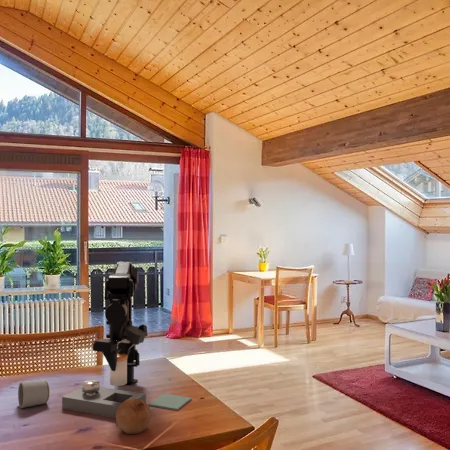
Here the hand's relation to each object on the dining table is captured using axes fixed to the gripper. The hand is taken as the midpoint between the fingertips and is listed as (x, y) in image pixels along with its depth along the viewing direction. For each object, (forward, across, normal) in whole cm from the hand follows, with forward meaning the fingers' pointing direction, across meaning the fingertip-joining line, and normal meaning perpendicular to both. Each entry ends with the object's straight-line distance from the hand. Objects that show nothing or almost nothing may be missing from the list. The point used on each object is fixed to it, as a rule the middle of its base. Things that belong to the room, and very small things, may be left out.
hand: (118, 368), depth 152 cm
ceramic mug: (+13, -5, +28) cm, 32 cm away
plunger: (+12, 0, +10) cm, 16 cm away
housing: (+13, 0, +5) cm, 14 cm away
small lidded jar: (+4, 0, 0) cm, 4 cm away
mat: (+13, +11, -12) cm, 21 cm away
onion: (+13, -11, -12) cm, 21 cm away
